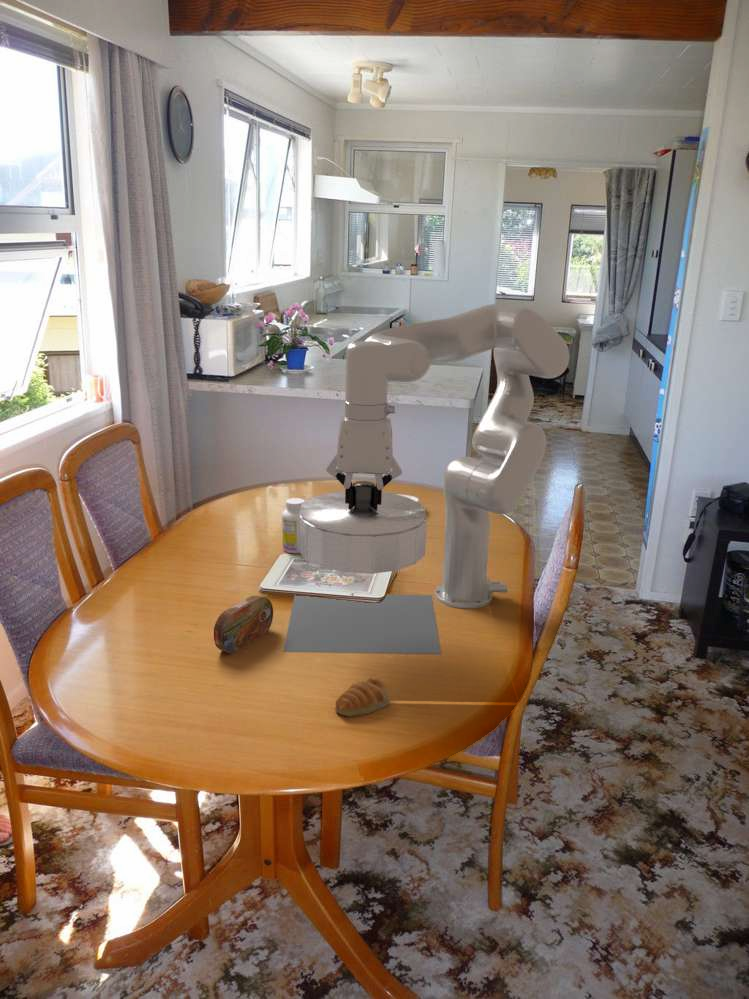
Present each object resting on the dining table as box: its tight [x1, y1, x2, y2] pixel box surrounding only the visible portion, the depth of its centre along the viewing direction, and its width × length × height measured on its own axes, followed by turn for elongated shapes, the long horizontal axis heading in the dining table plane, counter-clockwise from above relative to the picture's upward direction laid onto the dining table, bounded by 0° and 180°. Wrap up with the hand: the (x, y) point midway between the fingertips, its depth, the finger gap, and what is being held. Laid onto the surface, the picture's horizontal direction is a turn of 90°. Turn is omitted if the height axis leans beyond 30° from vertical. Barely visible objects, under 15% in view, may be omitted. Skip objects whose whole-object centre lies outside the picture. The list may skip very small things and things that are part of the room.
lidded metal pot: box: [298, 480, 428, 575], centre depth 153 cm, size 24×24×13 cm
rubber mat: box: [283, 593, 442, 655], centre depth 167 cm, size 30×26×1 cm
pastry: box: [334, 677, 391, 718], centre depth 138 cm, size 9×7×4 cm
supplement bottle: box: [281, 497, 306, 555], centre depth 202 cm, size 7×7×13 cm
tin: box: [213, 595, 274, 655], centre depth 157 cm, size 15×3×8 cm, turn 148°
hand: (363, 506), depth 153 cm, fingers closed on lidded metal pot, 4 cm apart
